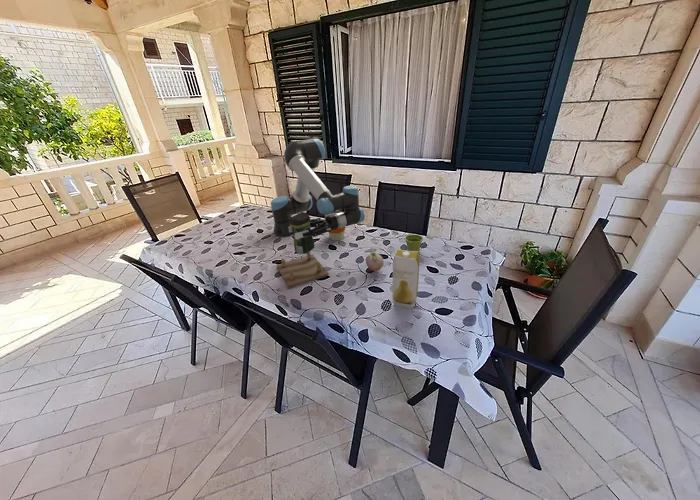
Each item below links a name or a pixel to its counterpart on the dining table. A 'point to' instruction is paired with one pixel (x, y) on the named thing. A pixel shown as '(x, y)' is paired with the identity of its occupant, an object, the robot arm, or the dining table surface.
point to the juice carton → (405, 278)
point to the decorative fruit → (374, 261)
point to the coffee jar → (298, 225)
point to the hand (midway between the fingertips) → (292, 232)
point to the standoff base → (301, 270)
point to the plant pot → (413, 242)
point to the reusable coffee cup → (336, 230)
